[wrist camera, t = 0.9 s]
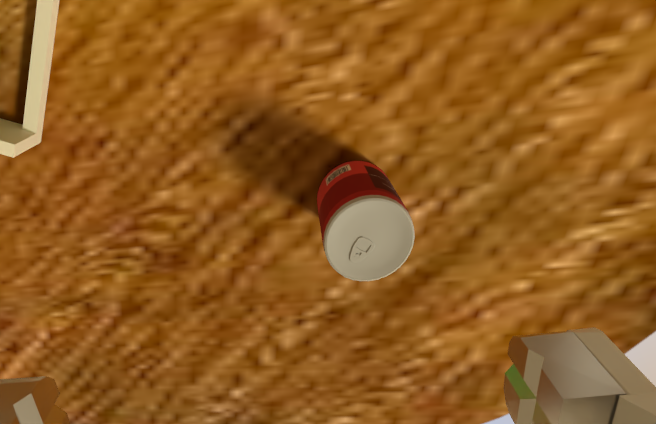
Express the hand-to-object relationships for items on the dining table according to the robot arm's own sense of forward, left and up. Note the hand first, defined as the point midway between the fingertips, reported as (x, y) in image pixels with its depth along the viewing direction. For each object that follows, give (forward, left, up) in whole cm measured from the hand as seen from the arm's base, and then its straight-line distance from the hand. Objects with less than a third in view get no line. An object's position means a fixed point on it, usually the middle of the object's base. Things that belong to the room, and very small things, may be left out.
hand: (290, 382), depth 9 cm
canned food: (+9, +10, -40) cm, 42 cm away
